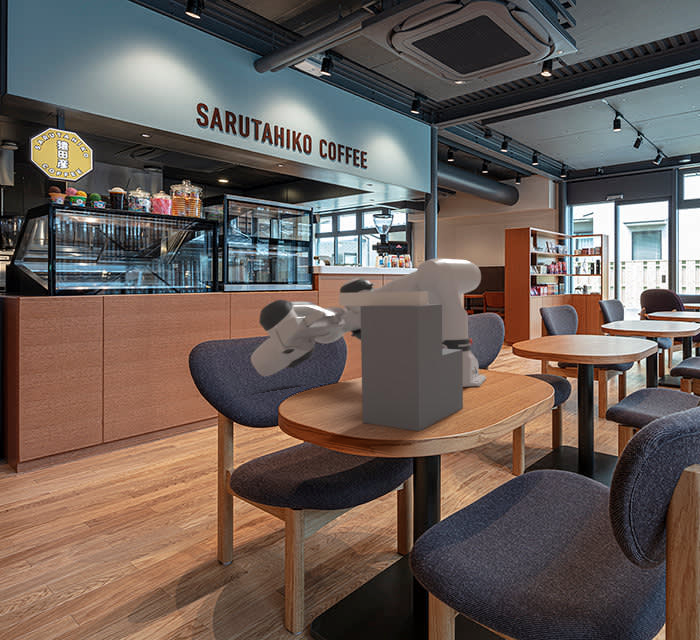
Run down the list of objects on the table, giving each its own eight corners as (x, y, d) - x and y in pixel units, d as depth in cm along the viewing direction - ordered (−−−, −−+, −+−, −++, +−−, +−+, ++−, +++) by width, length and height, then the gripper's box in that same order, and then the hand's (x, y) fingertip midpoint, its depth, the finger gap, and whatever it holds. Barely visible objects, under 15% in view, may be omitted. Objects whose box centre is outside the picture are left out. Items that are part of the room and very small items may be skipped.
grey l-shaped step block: (412, 402, 133) (410, 303, 131) (462, 408, 125) (462, 302, 124) (362, 422, 113) (360, 306, 112) (419, 431, 105) (417, 306, 104)
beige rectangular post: (349, 305, 123) (348, 292, 123) (428, 304, 111) (427, 291, 111) (339, 305, 120) (339, 292, 119) (419, 305, 108) (419, 291, 108)
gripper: (326, 345, 137) (363, 320, 130) (275, 353, 120) (314, 325, 113) (317, 324, 139) (352, 299, 132) (264, 330, 122) (302, 301, 115)
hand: (334, 311), depth 122 cm, fingers open, 8 cm apart
